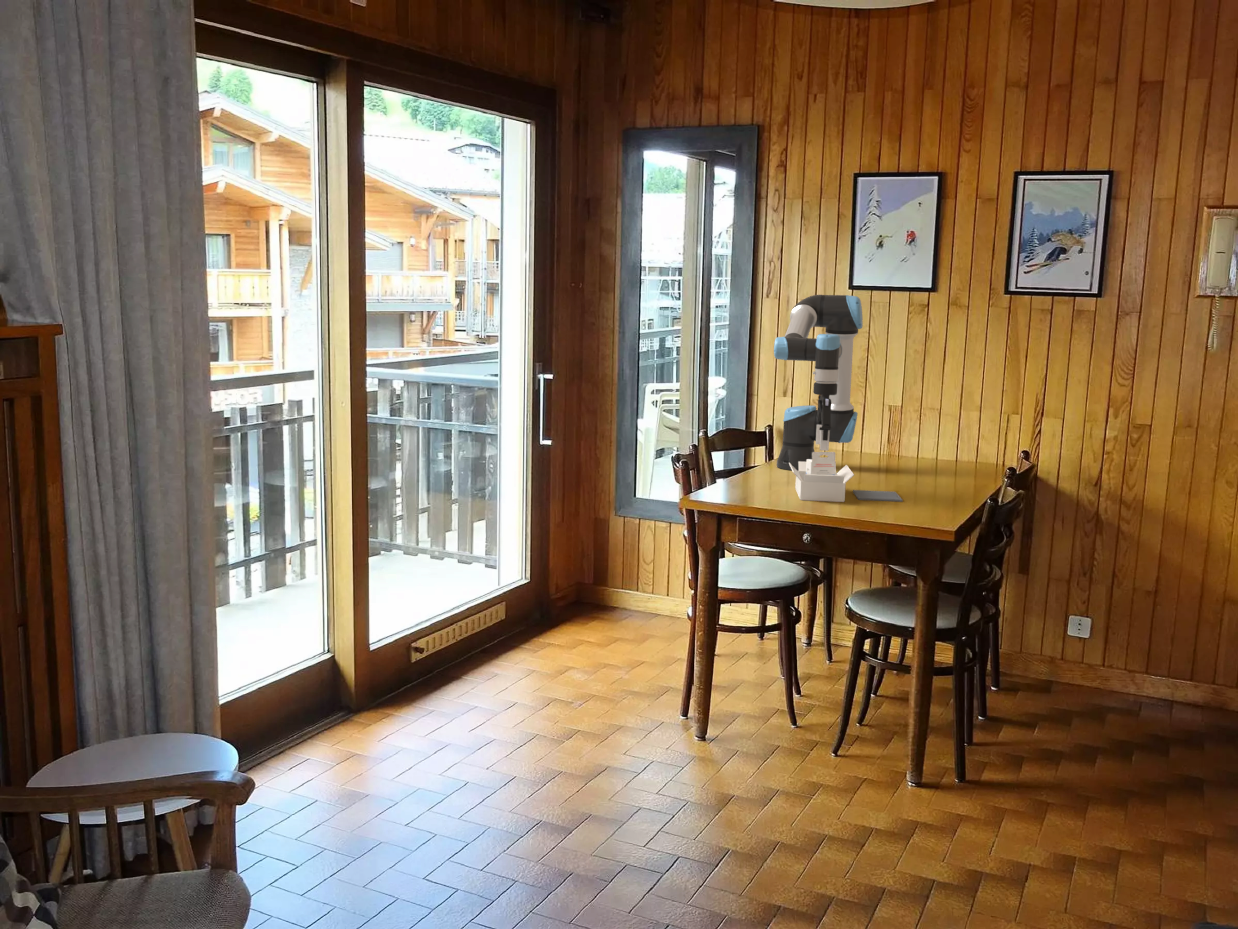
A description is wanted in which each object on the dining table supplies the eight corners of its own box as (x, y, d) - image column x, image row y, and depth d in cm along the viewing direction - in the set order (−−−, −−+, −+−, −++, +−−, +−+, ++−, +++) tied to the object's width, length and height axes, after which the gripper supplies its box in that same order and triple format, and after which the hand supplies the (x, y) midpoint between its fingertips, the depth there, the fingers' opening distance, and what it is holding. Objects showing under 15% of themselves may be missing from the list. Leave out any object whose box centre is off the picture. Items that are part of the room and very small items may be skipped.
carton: (786, 486, 380) (788, 460, 379) (844, 489, 379) (845, 463, 377) (792, 501, 355) (793, 473, 354) (854, 503, 354) (855, 476, 352)
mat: (852, 491, 374) (852, 490, 374) (895, 493, 373) (895, 491, 373) (858, 499, 361) (858, 498, 361) (902, 501, 360) (902, 499, 360)
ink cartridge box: (828, 493, 370) (831, 449, 368) (834, 496, 365) (837, 452, 363) (804, 493, 368) (806, 449, 366) (809, 496, 364) (812, 452, 361)
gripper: (810, 378, 373) (806, 441, 377) (817, 385, 349) (813, 452, 352) (833, 379, 373) (829, 442, 376) (842, 386, 348) (838, 453, 352)
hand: (821, 447), depth 364 cm, fingers open, 13 cm apart
